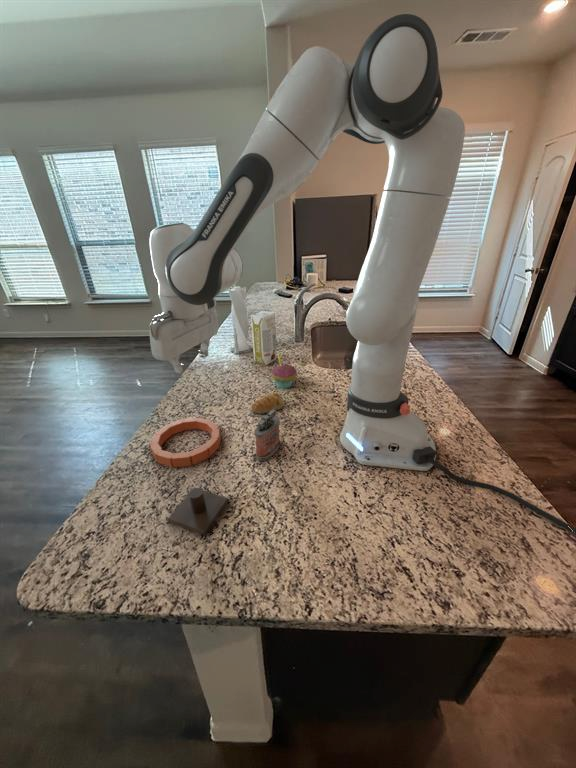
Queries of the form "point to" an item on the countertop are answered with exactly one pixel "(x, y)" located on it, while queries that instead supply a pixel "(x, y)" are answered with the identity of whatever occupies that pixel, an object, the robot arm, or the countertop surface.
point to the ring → (186, 457)
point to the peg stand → (198, 511)
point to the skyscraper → (239, 319)
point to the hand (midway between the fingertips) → (192, 363)
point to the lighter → (267, 436)
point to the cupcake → (283, 374)
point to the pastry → (268, 403)
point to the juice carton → (264, 337)
